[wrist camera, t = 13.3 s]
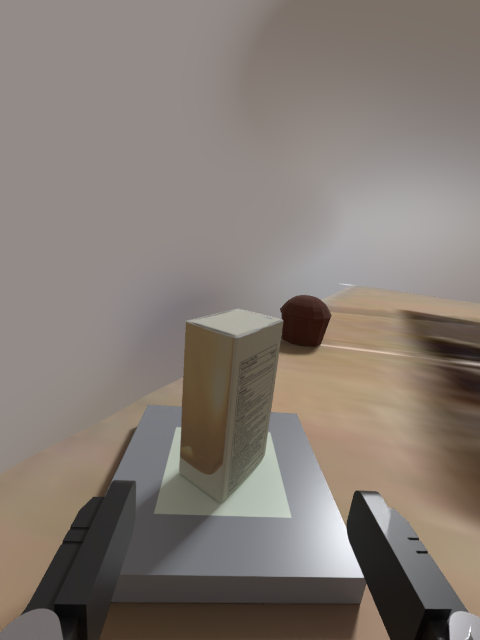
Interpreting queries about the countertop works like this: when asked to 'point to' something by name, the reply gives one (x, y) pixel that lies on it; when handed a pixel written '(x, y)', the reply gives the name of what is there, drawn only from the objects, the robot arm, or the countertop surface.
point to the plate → (234, 525)
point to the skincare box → (227, 397)
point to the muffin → (304, 320)
